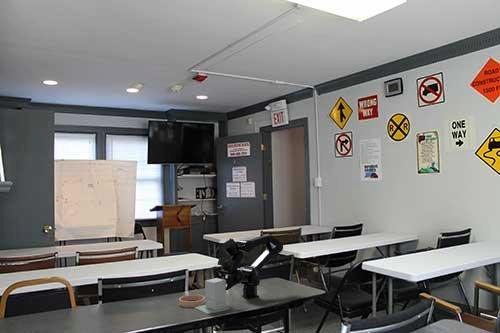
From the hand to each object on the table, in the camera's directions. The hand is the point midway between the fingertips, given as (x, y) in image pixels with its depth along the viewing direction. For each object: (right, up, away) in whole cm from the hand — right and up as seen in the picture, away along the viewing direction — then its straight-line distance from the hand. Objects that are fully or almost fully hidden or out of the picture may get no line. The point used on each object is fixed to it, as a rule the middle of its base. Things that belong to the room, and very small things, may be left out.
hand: (219, 288), depth 195 cm
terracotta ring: (-14, -9, +6) cm, 18 cm away
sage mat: (-3, -8, -4) cm, 10 cm away
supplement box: (-1, -8, -3) cm, 9 cm away
